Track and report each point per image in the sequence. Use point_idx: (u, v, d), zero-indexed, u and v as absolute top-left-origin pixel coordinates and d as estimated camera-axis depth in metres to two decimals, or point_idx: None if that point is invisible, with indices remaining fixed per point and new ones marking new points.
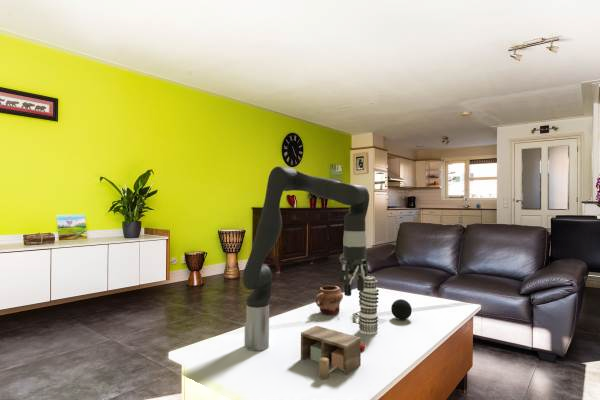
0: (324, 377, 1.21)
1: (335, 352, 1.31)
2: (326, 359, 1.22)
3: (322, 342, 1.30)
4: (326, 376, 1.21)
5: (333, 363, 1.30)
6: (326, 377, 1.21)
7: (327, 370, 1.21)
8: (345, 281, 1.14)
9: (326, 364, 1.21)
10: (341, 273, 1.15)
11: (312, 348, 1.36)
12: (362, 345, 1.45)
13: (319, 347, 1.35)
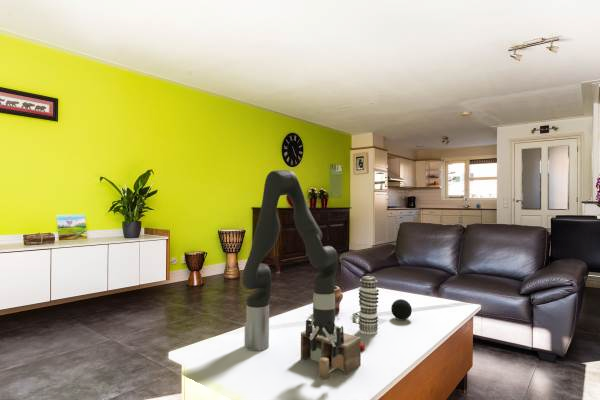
0: (324, 377, 1.21)
1: None
2: (326, 359, 1.22)
3: (322, 342, 1.30)
4: (326, 376, 1.21)
5: (333, 363, 1.30)
6: (326, 377, 1.21)
7: (327, 370, 1.21)
8: (343, 342, 1.18)
9: (326, 364, 1.21)
10: (340, 336, 1.17)
11: None
12: (362, 345, 1.45)
13: (319, 347, 1.35)
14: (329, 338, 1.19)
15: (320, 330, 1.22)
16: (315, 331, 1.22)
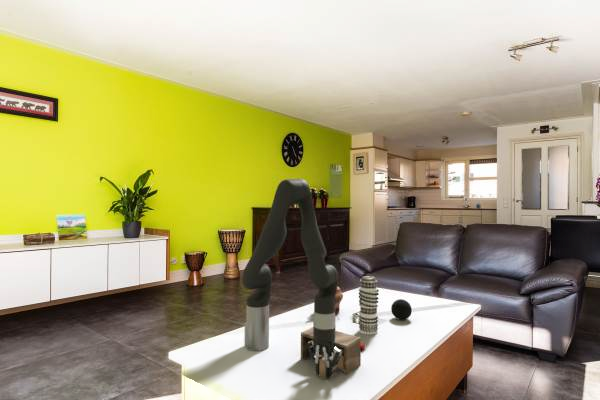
0: (324, 377, 1.21)
1: None
2: None
3: None
4: None
5: None
6: None
7: None
8: (337, 363, 1.20)
9: None
10: (337, 360, 1.18)
11: None
12: (362, 345, 1.45)
13: None
14: (326, 358, 1.20)
15: (321, 348, 1.22)
16: (317, 351, 1.22)
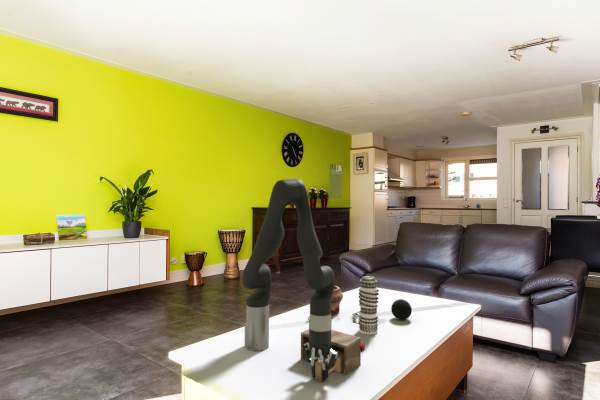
0: (320, 380, 1.19)
1: None
2: None
3: None
4: None
5: None
6: None
7: None
8: (333, 365, 1.18)
9: (321, 367, 1.19)
10: (333, 362, 1.16)
11: None
12: (362, 345, 1.45)
13: None
14: (322, 361, 1.18)
15: (317, 351, 1.20)
16: (313, 354, 1.20)
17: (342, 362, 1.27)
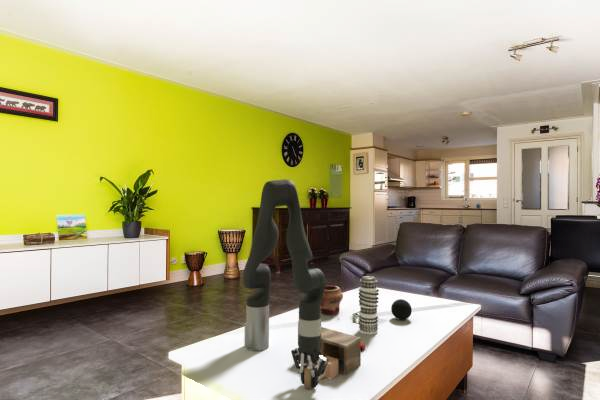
0: (309, 387, 1.14)
1: None
2: None
3: (322, 342, 1.30)
4: None
5: None
6: None
7: None
8: (322, 372, 1.14)
9: (311, 374, 1.14)
10: (322, 369, 1.12)
11: None
12: (362, 345, 1.45)
13: None
14: (311, 367, 1.13)
15: (306, 357, 1.15)
16: (302, 360, 1.16)
17: (333, 368, 1.22)
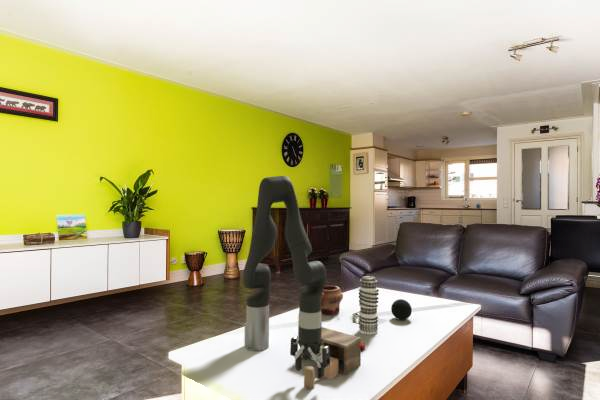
0: (309, 387, 1.14)
1: None
2: (311, 368, 1.16)
3: (322, 342, 1.30)
4: (311, 386, 1.14)
5: None
6: (311, 387, 1.14)
7: (312, 380, 1.15)
8: (329, 363, 1.12)
9: (311, 374, 1.14)
10: (326, 357, 1.11)
11: None
12: (362, 344, 1.45)
13: None
14: (314, 359, 1.13)
15: (305, 349, 1.16)
16: (300, 350, 1.16)
17: (333, 368, 1.22)
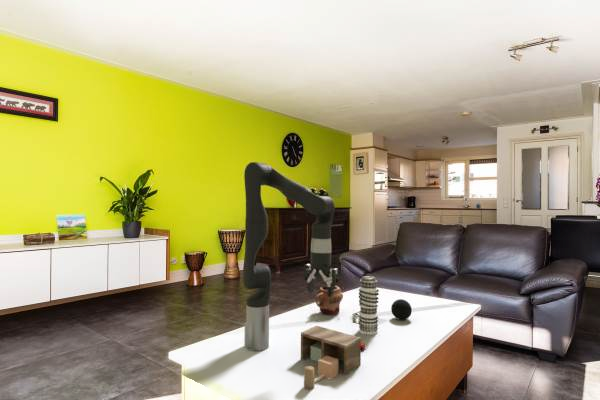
0: (309, 387, 1.14)
1: (322, 360, 1.24)
2: (311, 368, 1.16)
3: (322, 342, 1.30)
4: (311, 386, 1.14)
5: (320, 371, 1.24)
6: (311, 387, 1.14)
7: (312, 380, 1.15)
8: (338, 283, 1.28)
9: (311, 374, 1.14)
10: (335, 277, 1.27)
11: (312, 348, 1.36)
12: (362, 344, 1.45)
13: (319, 347, 1.35)
14: (325, 279, 1.29)
15: (317, 273, 1.32)
16: (312, 274, 1.32)
17: (333, 368, 1.22)
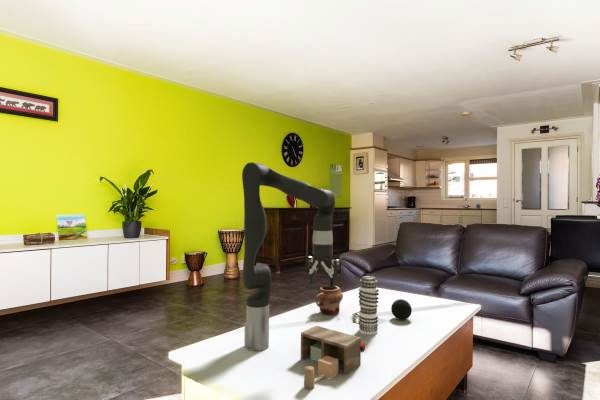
0: (309, 387, 1.14)
1: (322, 360, 1.24)
2: (311, 368, 1.16)
3: (322, 342, 1.30)
4: (311, 386, 1.14)
5: (320, 371, 1.24)
6: (311, 387, 1.14)
7: (312, 380, 1.15)
8: (339, 274, 1.32)
9: (311, 374, 1.14)
10: (337, 268, 1.30)
11: (312, 348, 1.36)
12: (362, 344, 1.45)
13: (319, 347, 1.35)
14: (327, 270, 1.32)
15: (319, 264, 1.35)
16: (314, 265, 1.35)
17: (333, 368, 1.22)
